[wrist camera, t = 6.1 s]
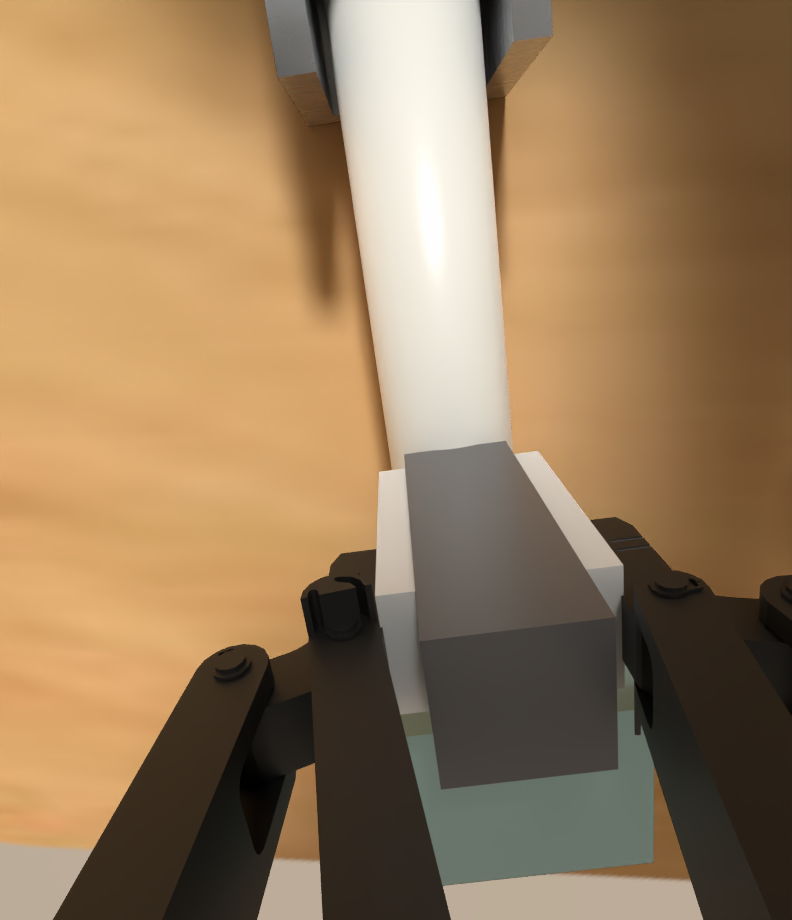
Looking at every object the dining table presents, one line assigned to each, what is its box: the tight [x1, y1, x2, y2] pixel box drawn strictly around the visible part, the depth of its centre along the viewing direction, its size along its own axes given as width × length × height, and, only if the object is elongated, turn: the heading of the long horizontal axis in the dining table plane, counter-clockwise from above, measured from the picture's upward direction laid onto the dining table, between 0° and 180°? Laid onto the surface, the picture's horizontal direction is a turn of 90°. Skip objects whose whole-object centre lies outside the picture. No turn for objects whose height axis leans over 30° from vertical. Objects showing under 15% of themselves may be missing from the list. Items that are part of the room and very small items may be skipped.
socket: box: [401, 665, 654, 886], centre depth 22 cm, size 6×9×8 cm, turn 98°
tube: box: [323, 0, 618, 790], centre depth 15 cm, size 25×6×14 cm, turn 8°
